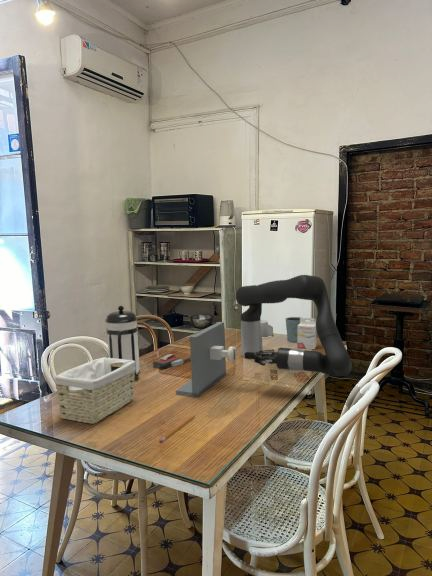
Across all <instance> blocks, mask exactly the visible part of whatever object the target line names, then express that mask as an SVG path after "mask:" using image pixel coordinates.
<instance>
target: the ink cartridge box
mask: <svg viewBox="0 0 432 576" xmlns="http://www.w3.org/2000/svg"><path fill="white" fill-rule="evenodd" d="M316 320H317V318H311V317H302V318H300V324H299V325H298V328H297V343H296V344H297V346H296V347H297V348H296V349H301V350H312V349H314V350H315V349H316V348H317V331H316Z"/></svg>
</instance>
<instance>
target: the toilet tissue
mask: <svg viewBox="0 0 432 576" xmlns="http://www.w3.org/2000/svg"><path fill="white" fill-rule="evenodd" d="M268 322H269V321H267V320H264V319H261V336H262V337H268V336H272V335H273V336H274V327H273V326H272V325H271V324H269V323H268Z"/></svg>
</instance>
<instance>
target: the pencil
mask: <svg viewBox="0 0 432 576" xmlns="http://www.w3.org/2000/svg"><path fill="white" fill-rule="evenodd" d="M195 417H196V415H193V416H190V417H189V418H188V419H186V420H185V421H183V423H181V424H180V425H178V426H177V427H175V428H174V429H173V430H171V431H170V432H168V433H167V434H166V435H165V436H163V437H162V438H161V439H160V440H159V443H160V444H162V443H163V442H165V441H166V440H167V439H169V438H170V437H171V436H173V435H174V434H175V433H176V432H178V431H179V430H181V428H183V427H184V426H185V425H187V424H188V423H190V422H191V421H192V420H193V419H195Z"/></svg>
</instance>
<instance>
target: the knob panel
mask: <svg viewBox="0 0 432 576" xmlns="http://www.w3.org/2000/svg"><path fill="white" fill-rule="evenodd" d="M225 328H226V327H225V322H224V321H218V322H215V323H214V324H212V325H210V326H208V327H206V328H204V329H201V330H200V331H198V332H196V333H195V334H192V335H190V336H189V346H190V357H191V359H190V366H191V367H190V368H191V369H190V370H191V379H190V380H189V381H187V382H186V383H185V384H183V385H181V386H180V387H178V389H176V390H175V394H176V395H177V396H185V397H191V398H192V397H193V398H200V397H201V396H202V395H204V393H206V392H207V391H208V390H210V389H211V388H212V387H213V386H214V385H215V384H217V383H218V382H219V381H220V380H222V379H223V378H224V377H226V376H227V364H226V362H227V361H226V358H227V357H221V355H220V351H221V350H226V332H225V331H226V330H225Z"/></svg>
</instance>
